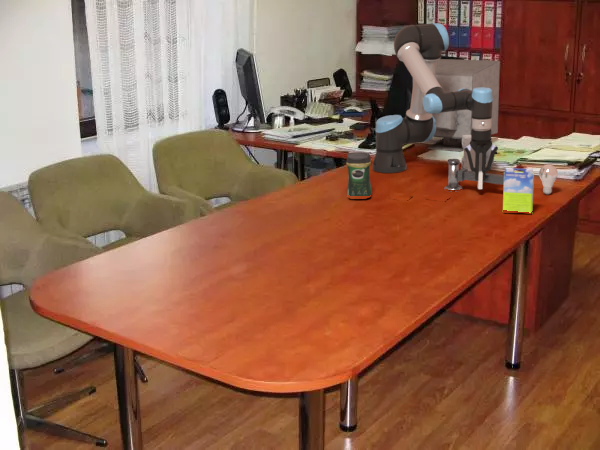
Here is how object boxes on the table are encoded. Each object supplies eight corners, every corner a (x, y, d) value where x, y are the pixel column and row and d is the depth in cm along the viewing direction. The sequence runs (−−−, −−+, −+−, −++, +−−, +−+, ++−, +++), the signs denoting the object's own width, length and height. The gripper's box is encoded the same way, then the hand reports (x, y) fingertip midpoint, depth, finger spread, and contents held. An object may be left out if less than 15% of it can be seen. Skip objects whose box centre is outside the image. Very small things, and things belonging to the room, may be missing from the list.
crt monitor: (498, 141, 409) (500, 60, 396) (470, 158, 379) (472, 71, 367) (433, 136, 427) (433, 58, 414) (401, 152, 397) (400, 68, 385)
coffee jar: (372, 195, 331) (371, 150, 325) (370, 201, 324) (369, 154, 318) (348, 195, 333) (347, 150, 327) (346, 200, 326) (344, 154, 320)
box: (532, 212, 301) (534, 166, 296) (532, 215, 298) (534, 169, 292) (503, 210, 305) (504, 165, 299) (502, 214, 301) (503, 168, 295)
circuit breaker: (497, 171, 356) (498, 137, 352) (464, 172, 357) (464, 138, 352) (493, 167, 363) (494, 133, 359) (461, 168, 364) (461, 135, 359)
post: (441, 190, 333) (442, 161, 329) (448, 185, 339) (448, 157, 335) (458, 192, 329) (458, 163, 326) (464, 187, 335) (465, 159, 331)
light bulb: (557, 192, 323) (559, 163, 319) (555, 197, 317) (556, 167, 313) (539, 191, 325) (541, 161, 322) (536, 196, 320) (538, 166, 316)
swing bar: (457, 180, 329) (457, 167, 327) (462, 177, 333) (463, 164, 331) (509, 187, 317) (510, 173, 315) (514, 184, 320) (515, 170, 319)
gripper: (465, 131, 312) (464, 191, 320) (500, 130, 311) (498, 190, 319) (463, 127, 319) (461, 185, 327) (497, 126, 318) (495, 185, 326)
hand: (479, 188), depth 323 cm, fingers closed
